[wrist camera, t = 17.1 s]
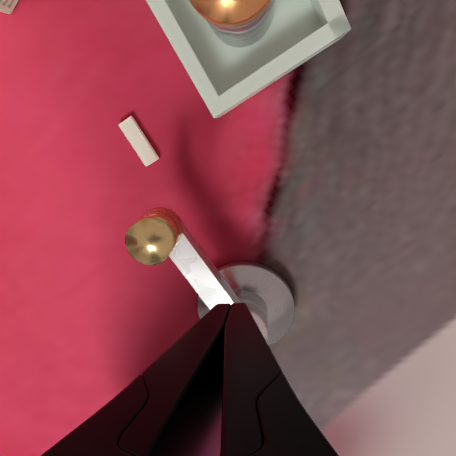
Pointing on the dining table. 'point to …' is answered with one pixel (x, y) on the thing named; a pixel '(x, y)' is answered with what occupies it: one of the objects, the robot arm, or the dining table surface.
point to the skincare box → (7, 6)
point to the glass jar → (237, 19)
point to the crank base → (260, 294)
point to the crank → (188, 261)
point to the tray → (248, 47)
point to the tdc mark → (138, 141)
